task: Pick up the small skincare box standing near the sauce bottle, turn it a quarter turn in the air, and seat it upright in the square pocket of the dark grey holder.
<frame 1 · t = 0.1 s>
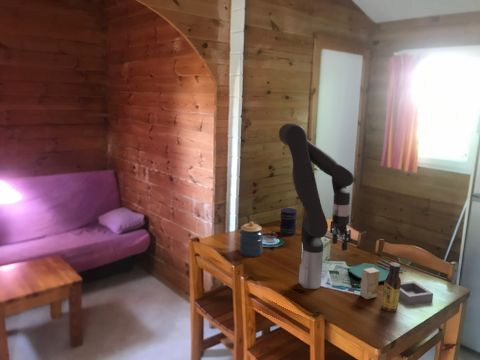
hand: (339, 246, 192), 17 cm above the table, tool pointing down, fingers open, 8 cm apart
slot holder: (411, 296, 183), on the table
storage jar: (287, 233, 260), on the table
skincare box: (368, 296, 183), on the table
teal flat sheet: (377, 274, 207), on the table
canister: (250, 252, 228), on the table
sauce bottle: (389, 309, 173), on the table
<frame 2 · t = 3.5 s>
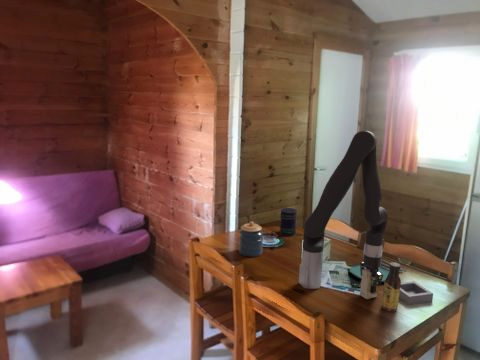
hand: (369, 289, 182), 3 cm above the table, tool pointing down, fingers closed on skincare box, 4 cm apart
skincare box: (368, 296, 183), on the table, touching gripper
everything else where it was.
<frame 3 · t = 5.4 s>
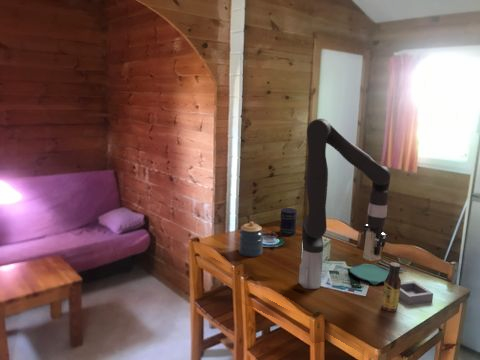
hand: (372, 252, 179), 20 cm above the table, tool pointing down, fingers closed on skincare box, 4 cm apart
skincare box: (371, 259, 179), point 17 cm above the table, touching gripper
everything else where it was.
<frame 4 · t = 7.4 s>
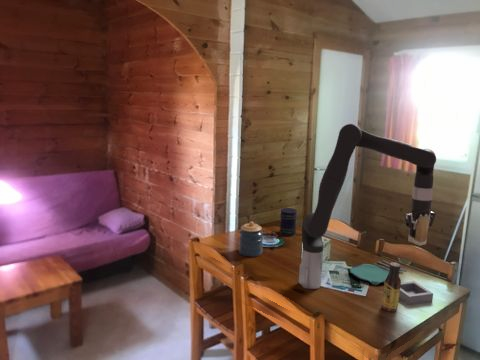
hand: (417, 236, 177), 28 cm above the table, tool pointing down, fingers closed on skincare box, 4 cm apart
skincare box: (417, 243, 178), point 25 cm above the table, touching gripper
everything else where it was.
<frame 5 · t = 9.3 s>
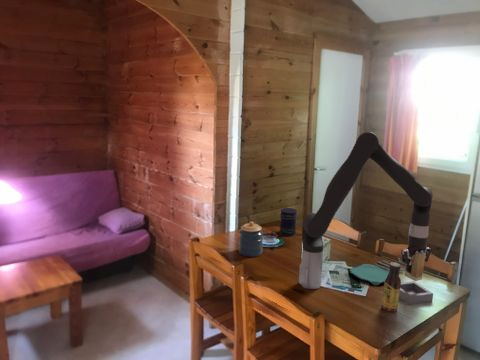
hand: (413, 271, 181), 12 cm above the table, tool pointing down, fingers closed on skincare box, 4 cm apart
skincare box: (413, 278, 182), point 9 cm above the table, touching gripper
everything else where it was.
when the fingers open (5 cm above the table, at t = 11.3 s): skincare box drops 1 cm, resting on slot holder.
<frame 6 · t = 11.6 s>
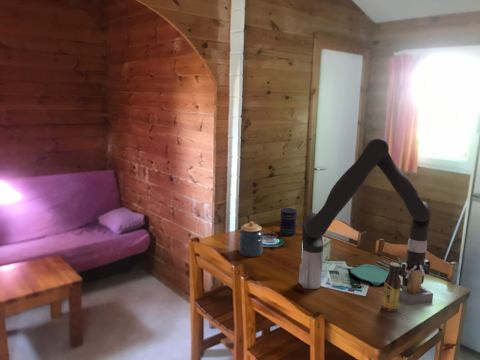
hand: (412, 284, 182), 6 cm above the table, tool pointing down, fingers open, 7 cm apart
skincare box: (410, 295, 183), point 1 cm above the table, touching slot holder
everything else where it was.
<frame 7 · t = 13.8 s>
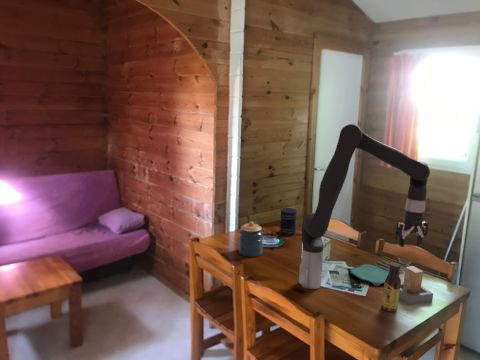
hand: (409, 245, 180), 23 cm above the table, tool pointing down, fingers open, 8 cm apart
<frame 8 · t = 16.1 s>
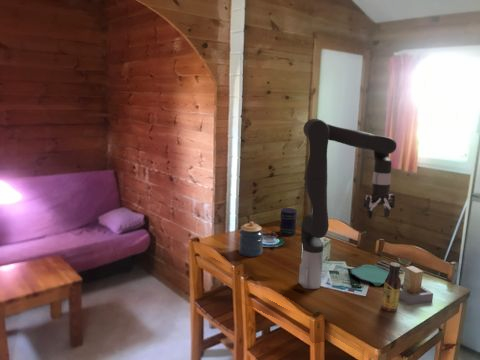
hand: (377, 217, 188), 32 cm above the table, tool pointing down, fingers open, 8 cm apart
at the end: skincare box 0.1 cm off-centre on the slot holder, point 0.6 cm above the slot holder's base; skincare box tilted 0°; the gripper is holding nothing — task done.
